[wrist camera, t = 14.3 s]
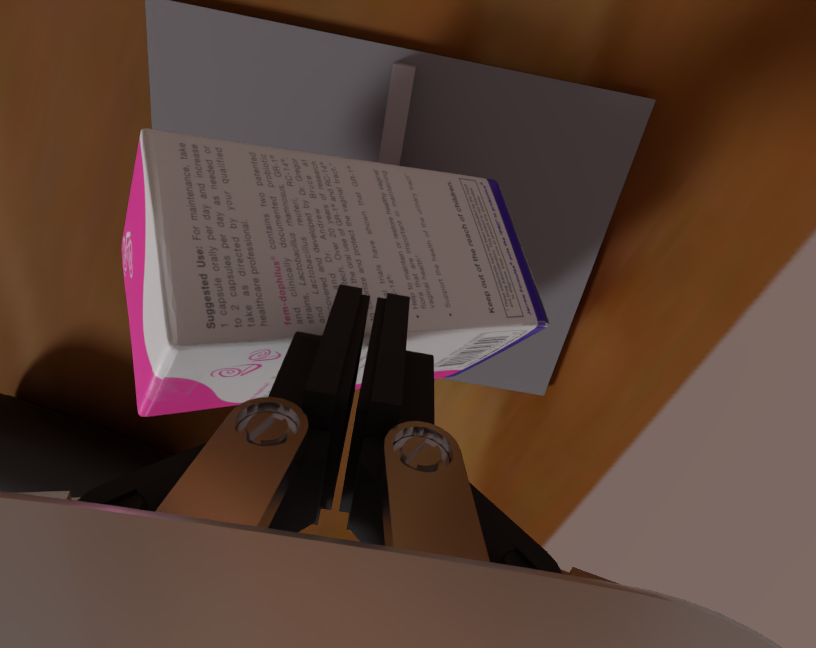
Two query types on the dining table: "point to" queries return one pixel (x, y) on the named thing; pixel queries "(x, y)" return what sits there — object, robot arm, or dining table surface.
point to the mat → (414, 136)
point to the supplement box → (305, 264)
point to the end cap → (62, 451)
